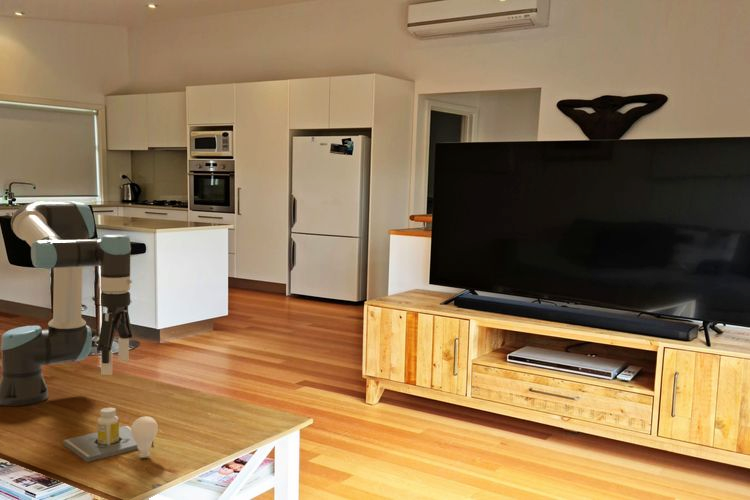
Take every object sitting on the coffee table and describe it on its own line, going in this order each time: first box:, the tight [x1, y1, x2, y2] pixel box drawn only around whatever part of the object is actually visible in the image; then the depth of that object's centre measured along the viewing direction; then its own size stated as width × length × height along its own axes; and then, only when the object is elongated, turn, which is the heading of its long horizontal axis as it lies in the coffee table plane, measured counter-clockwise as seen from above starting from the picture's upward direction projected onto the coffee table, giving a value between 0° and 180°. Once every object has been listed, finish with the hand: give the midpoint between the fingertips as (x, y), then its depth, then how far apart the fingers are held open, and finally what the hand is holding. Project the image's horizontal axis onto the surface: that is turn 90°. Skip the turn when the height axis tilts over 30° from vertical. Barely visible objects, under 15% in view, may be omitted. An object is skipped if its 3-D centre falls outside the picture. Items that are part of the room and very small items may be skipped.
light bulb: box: [131, 415, 159, 459], centre depth 176 cm, size 7×7×11 cm
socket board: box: [62, 425, 154, 463], centre depth 185 cm, size 16×18×1 cm
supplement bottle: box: [97, 407, 120, 445], centre depth 185 cm, size 5×5×10 cm
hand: (115, 367), depth 188 cm, fingers open, 13 cm apart
